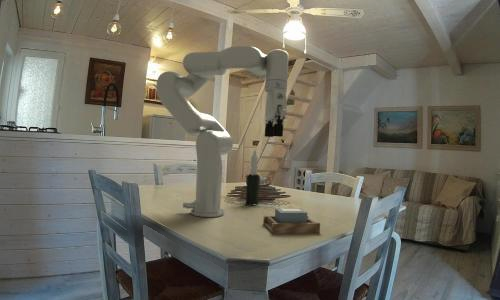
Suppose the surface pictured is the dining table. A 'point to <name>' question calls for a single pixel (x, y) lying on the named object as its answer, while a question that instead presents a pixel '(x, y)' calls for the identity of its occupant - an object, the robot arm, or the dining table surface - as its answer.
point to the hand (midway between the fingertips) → (273, 136)
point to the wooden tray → (290, 226)
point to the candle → (253, 182)
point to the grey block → (290, 215)
